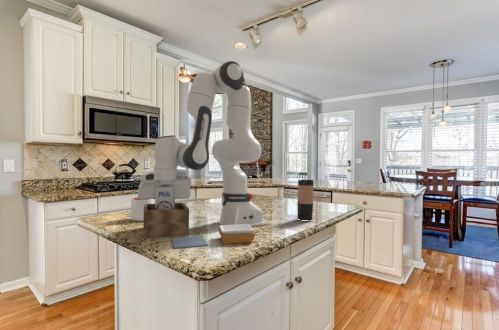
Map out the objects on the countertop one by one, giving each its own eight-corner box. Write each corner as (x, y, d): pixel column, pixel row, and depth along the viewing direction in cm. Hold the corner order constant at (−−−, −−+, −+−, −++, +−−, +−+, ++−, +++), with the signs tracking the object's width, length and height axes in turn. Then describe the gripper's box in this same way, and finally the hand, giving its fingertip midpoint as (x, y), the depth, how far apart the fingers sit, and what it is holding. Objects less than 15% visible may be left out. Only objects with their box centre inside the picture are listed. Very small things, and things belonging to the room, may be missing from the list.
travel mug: (314, 222, 136) (315, 180, 136) (298, 221, 137) (299, 180, 136) (310, 218, 144) (311, 179, 144) (295, 218, 144) (296, 179, 144)
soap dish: (249, 236, 109) (250, 223, 109) (255, 244, 100) (255, 229, 99) (217, 237, 107) (217, 224, 106) (220, 245, 97) (220, 231, 97)
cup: (126, 219, 133) (126, 198, 132) (145, 216, 141) (145, 196, 141) (139, 222, 127) (139, 200, 127) (157, 219, 135) (158, 198, 135)
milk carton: (175, 228, 117) (175, 180, 117) (173, 233, 111) (173, 182, 110) (157, 229, 116) (157, 180, 116) (154, 233, 110) (155, 182, 109)
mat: (201, 237, 106) (201, 235, 106) (207, 245, 96) (207, 244, 96) (171, 239, 102) (171, 237, 102) (174, 248, 92) (174, 247, 92)
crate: (183, 225, 124) (183, 202, 124) (188, 234, 109) (189, 209, 108) (143, 227, 118) (144, 203, 118) (143, 238, 103) (143, 210, 103)
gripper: (190, 175, 119) (189, 208, 120) (138, 174, 113) (137, 209, 113) (192, 176, 114) (191, 210, 114) (138, 175, 107) (137, 212, 107)
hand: (164, 210), depth 113 cm, fingers closed
